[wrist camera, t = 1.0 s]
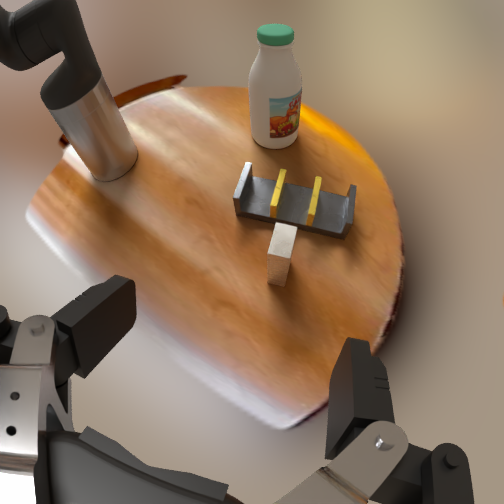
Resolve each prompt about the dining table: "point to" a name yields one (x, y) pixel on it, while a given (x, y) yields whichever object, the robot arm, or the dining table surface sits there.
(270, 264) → the white block
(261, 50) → the milk bottle
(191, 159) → the dining table surface
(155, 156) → the dining table surface
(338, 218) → the rack
